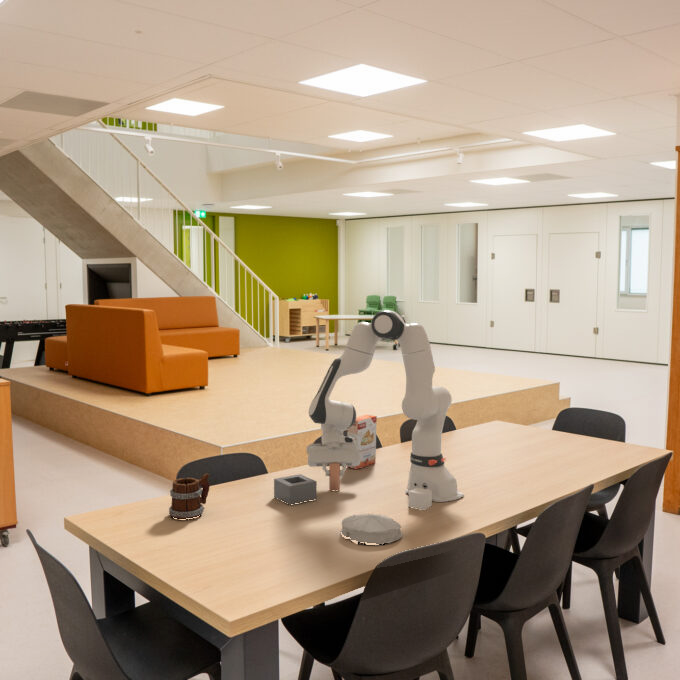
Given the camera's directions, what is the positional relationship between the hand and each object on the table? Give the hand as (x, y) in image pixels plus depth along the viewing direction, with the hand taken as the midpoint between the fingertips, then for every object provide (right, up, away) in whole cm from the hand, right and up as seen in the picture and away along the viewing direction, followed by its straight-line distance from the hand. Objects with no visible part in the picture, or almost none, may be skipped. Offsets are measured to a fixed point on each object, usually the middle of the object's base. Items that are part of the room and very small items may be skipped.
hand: (334, 475), depth 268 cm
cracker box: (+11, -3, +36) cm, 38 cm away
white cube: (+30, -8, -18) cm, 36 cm away
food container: (+12, -11, -44) cm, 47 cm away
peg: (0, -6, +1) cm, 6 cm away
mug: (-49, -8, -26) cm, 56 cm away
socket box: (-14, -7, -10) cm, 19 cm away
